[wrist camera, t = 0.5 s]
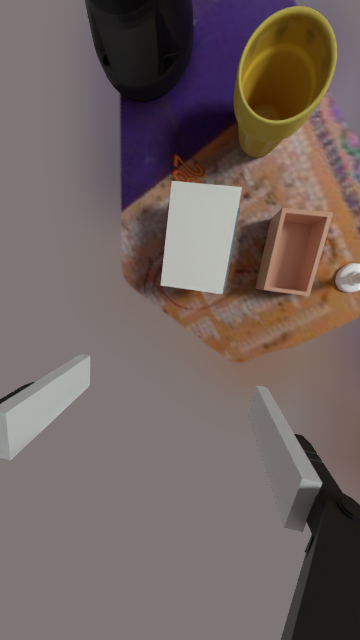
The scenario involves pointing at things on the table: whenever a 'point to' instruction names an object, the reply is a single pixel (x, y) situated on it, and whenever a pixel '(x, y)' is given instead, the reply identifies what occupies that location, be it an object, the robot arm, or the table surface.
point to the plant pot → (282, 77)
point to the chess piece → (348, 278)
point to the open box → (293, 250)
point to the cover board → (199, 235)
